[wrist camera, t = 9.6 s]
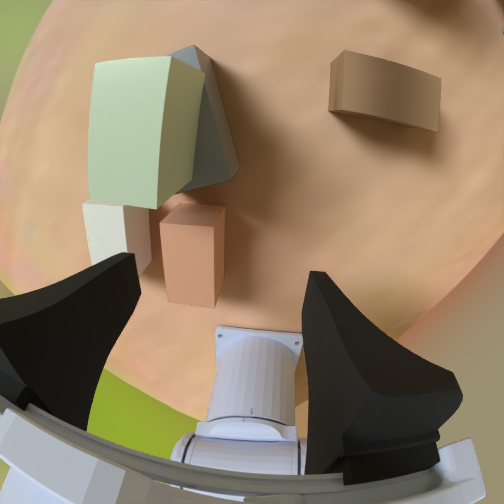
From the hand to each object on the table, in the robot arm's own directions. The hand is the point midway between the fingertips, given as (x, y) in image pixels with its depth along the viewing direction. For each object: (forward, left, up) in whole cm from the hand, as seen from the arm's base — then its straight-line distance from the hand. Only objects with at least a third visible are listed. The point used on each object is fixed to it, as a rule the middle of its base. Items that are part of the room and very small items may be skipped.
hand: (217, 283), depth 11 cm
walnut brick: (+9, -8, -10) cm, 15 cm away
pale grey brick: (-2, +9, -10) cm, 13 cm away
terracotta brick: (-3, +3, -10) cm, 10 cm away
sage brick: (+6, +4, -6) cm, 9 cm away
